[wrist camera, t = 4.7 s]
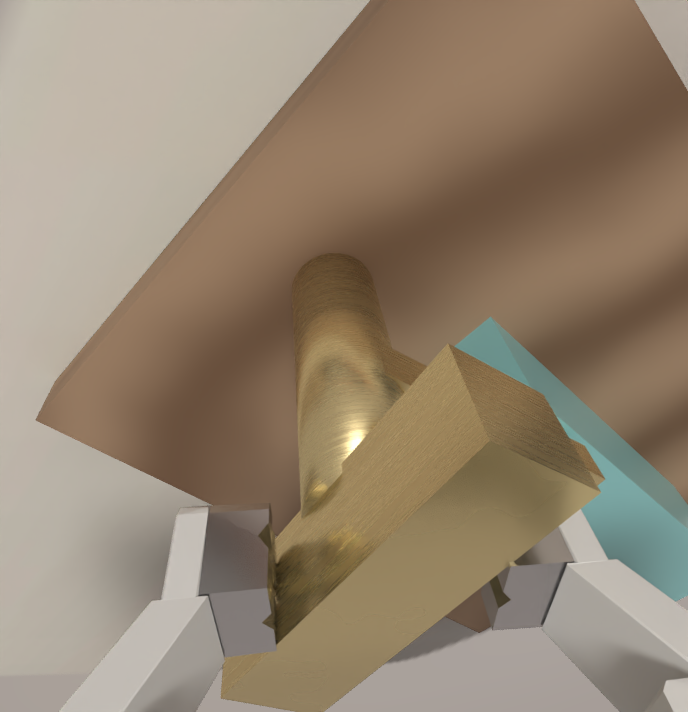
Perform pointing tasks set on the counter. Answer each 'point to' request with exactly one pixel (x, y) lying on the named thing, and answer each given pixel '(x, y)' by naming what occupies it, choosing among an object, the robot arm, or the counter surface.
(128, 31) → the counter surface
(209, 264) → the base
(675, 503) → the cover
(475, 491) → the t key
